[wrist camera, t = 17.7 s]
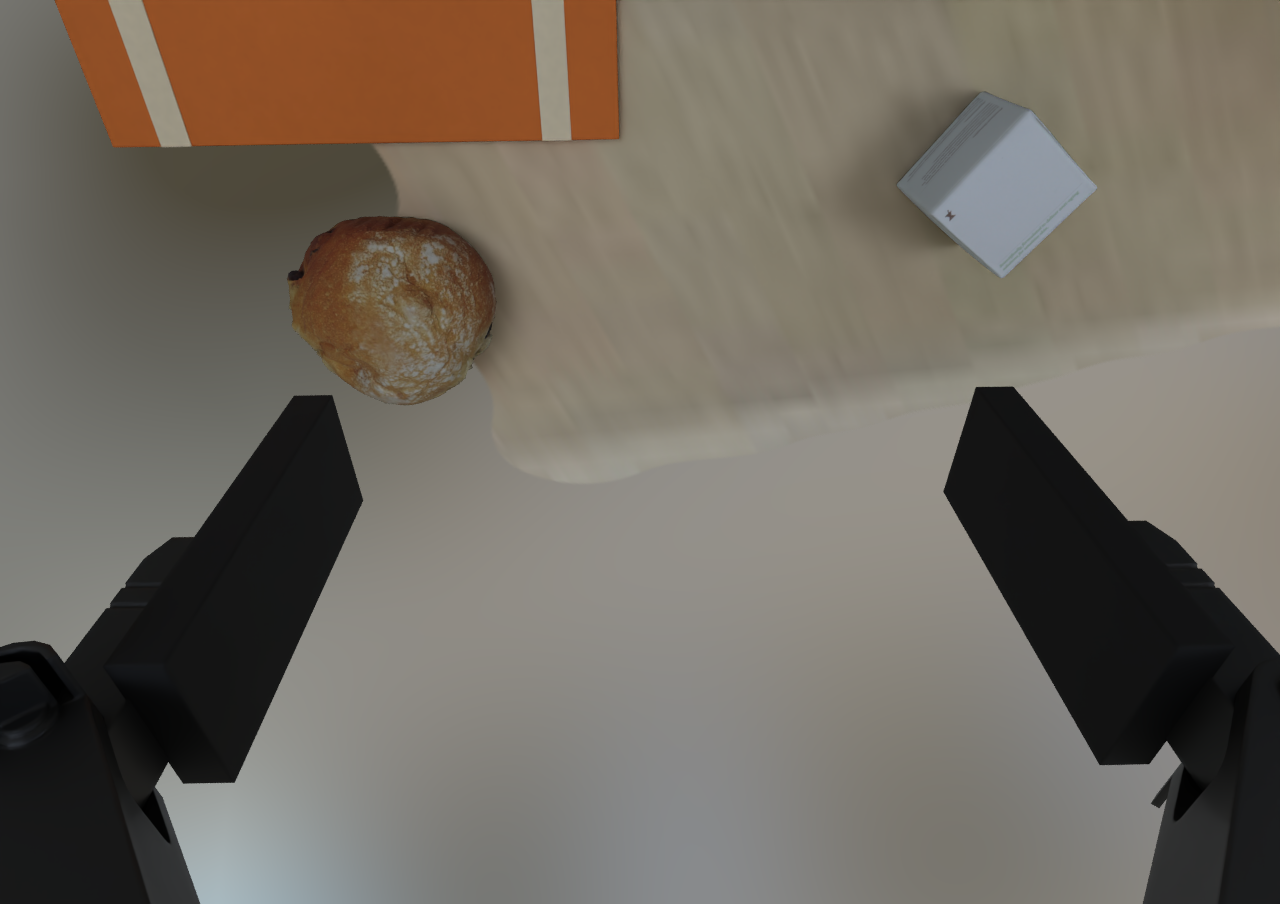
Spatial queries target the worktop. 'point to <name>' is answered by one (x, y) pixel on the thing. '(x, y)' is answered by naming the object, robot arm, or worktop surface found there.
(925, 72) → the worktop surface
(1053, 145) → the small box
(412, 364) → the bread roll
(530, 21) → the tea towel
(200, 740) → the robot arm
